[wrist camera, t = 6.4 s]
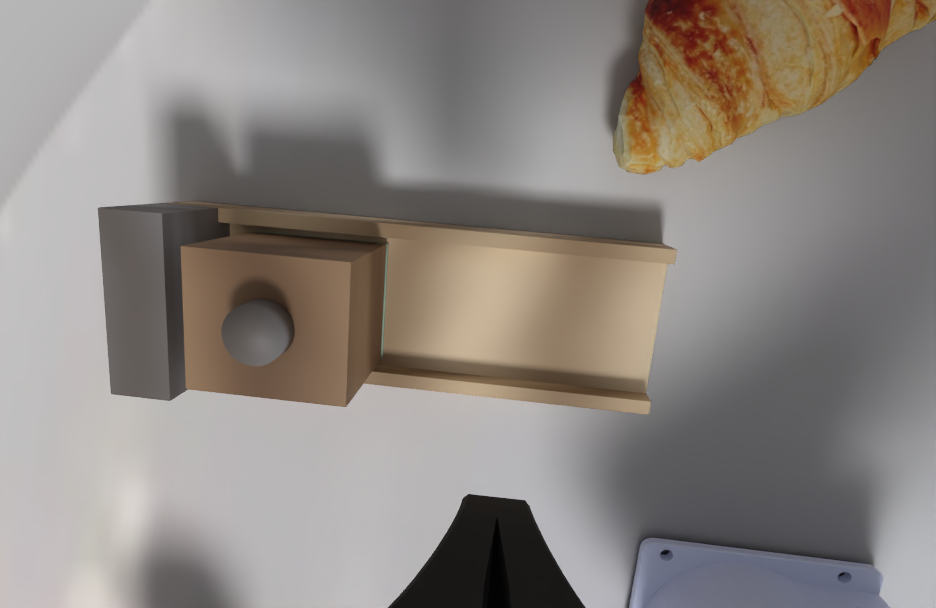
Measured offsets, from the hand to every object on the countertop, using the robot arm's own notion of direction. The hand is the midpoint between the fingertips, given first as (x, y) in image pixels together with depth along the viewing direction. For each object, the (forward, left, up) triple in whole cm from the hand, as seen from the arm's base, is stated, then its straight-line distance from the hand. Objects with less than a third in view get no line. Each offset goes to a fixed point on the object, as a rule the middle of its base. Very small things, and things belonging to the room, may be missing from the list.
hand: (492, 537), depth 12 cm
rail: (+4, -3, -10) cm, 11 cm away
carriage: (+7, -3, -9) cm, 12 cm away
